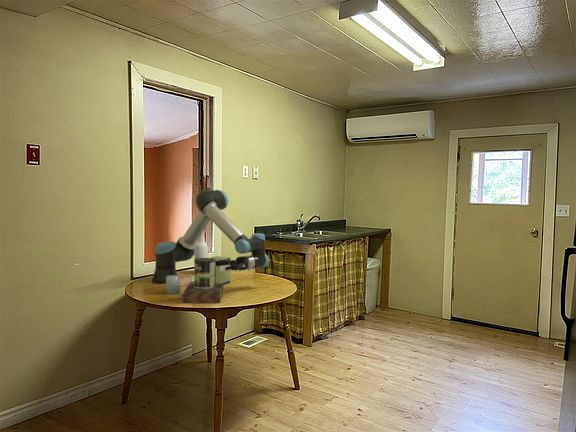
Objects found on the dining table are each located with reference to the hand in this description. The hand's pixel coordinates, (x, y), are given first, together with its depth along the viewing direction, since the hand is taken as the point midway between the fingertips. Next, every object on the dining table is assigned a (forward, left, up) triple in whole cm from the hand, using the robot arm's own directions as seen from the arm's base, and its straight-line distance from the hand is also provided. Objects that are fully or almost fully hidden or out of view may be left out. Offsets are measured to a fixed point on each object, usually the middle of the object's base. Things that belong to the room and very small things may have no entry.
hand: (211, 267), depth 221 cm
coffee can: (-3, -3, -10) cm, 11 cm away
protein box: (-1, +31, -16) cm, 35 cm away
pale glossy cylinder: (-22, +9, -16) cm, 28 cm away
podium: (-4, -3, -16) cm, 16 cm away
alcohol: (-14, +65, -16) cm, 69 cm away
